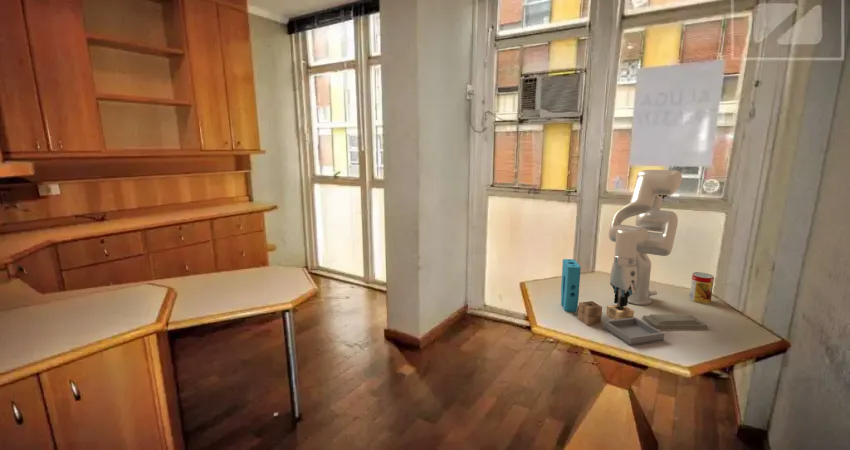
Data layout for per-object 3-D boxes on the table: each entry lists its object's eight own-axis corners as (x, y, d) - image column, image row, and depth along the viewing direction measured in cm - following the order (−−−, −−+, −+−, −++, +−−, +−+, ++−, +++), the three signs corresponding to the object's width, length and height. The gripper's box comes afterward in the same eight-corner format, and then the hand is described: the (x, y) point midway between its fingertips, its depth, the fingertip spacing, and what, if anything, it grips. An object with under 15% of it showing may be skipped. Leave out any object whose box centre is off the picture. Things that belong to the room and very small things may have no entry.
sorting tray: (634, 324, 154) (635, 317, 154) (663, 341, 141) (664, 333, 140) (603, 328, 151) (603, 321, 150) (630, 346, 138) (630, 338, 137)
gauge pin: (620, 312, 162) (622, 284, 159) (624, 314, 159) (627, 286, 157) (614, 312, 161) (617, 284, 159) (619, 315, 159) (621, 286, 156)
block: (578, 313, 164) (581, 267, 161) (565, 313, 165) (568, 267, 161) (571, 302, 176) (574, 259, 172) (559, 302, 177) (562, 259, 173)
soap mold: (708, 331, 149) (709, 322, 149) (655, 331, 150) (655, 322, 149) (691, 319, 159) (692, 311, 159) (641, 319, 160) (641, 311, 159)
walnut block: (591, 317, 161) (592, 301, 160) (600, 323, 155) (602, 306, 154) (578, 319, 159) (579, 302, 158) (587, 325, 154) (588, 308, 152)
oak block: (620, 313, 165) (621, 304, 164) (633, 320, 158) (634, 310, 157) (606, 314, 163) (606, 305, 162) (618, 322, 156) (619, 312, 156)
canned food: (714, 304, 173) (718, 277, 171) (695, 303, 174) (698, 277, 172) (704, 297, 181) (707, 272, 178) (685, 296, 182) (688, 271, 179)
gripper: (648, 265, 149) (643, 311, 153) (618, 254, 165) (614, 296, 168) (631, 266, 147) (627, 313, 151) (602, 255, 163) (599, 298, 166)
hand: (620, 304), depth 159 cm, fingers closed on gauge pin, 2 cm apart
